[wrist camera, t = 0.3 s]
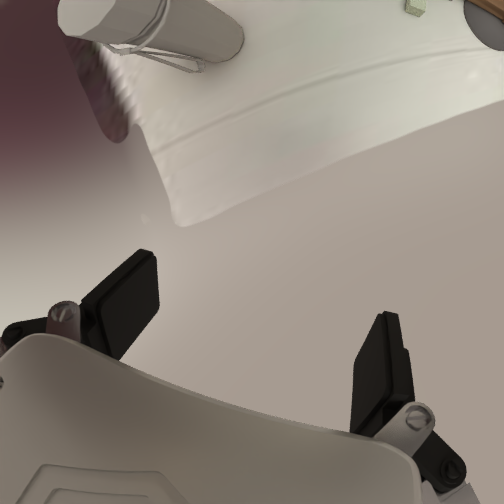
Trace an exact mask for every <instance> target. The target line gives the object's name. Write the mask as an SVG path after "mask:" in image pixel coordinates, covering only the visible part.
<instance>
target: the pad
mask: <svg viewBox="0 0 504 504" xmlns="http://www.w3.org/2000/svg"><path fill="white" fill-rule="evenodd" d="M464 14H465V18H466V21H467V23H468V25H469V27H470V28H471V30H472V31H473V33H474V34H475V35H476V37H477V38H478V39H479V40H480V41H482V42H483V43H484V44H485V45H487V46H488V47H490V48H492V49H495V50H498V51H504V23H503V22H502V19H500V18H498V17H497V16H495V15H494V14H492V13H490V12H488V11H487V10H485V9H483V8H481V7H479V6H478V5H476V4H474V3H472V2H470V1H468V0H466V1H465V3H464Z"/></svg>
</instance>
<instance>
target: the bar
mask: <svg viewBox="0 0 504 504" xmlns="http://www.w3.org/2000/svg"><path fill="white" fill-rule="evenodd" d="M468 1H470V2H472V3H474V4H476V5H478V6H479V7H481V8H483V9H485V10H487V11H488V12H490V13H492V14H494V15H495V16H497V17H498V18H500V19H502V22H503V23H504V0H468Z"/></svg>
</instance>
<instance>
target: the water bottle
mask: <svg viewBox="0 0 504 504" xmlns="http://www.w3.org/2000/svg"><path fill="white" fill-rule="evenodd" d="M58 25H59V27H60V28H61V29H62V30H63V32H64V33H65V34H66V35H67V36H72V37H78V38H82V39H87V40H92V41H96V42H100V43H102V44H103V45H104V46H105V47H107V48H108V49H109V50H111V51H112V52H113V53H119V54H120V56H121V55H127V54H137V55H140V56H143V57H146V58H149V59H152V60H155V61H158V62H161V63H164V64H167V65H170V66H173V67H175V68H178V69H181V70H183V71H186V72H188V73H201V72H204V70H205V64H204V63H203V61H202V60H200V59H203V60H206V61H210V62H214V63H217V62H222V61H226V60H229V59H230V58H231V57H233V56H234V55H235V54H236V53H237V52H239V50H240V48H241V45H242V43H243V40H244V37H243V32H242V27H241V26H240V25H239V24H238V23H237V22H236V21H235V20H234V19H232V18H231V17H229V16H228V15H227V14H225V13H224V12H222V11H221V10H219V9H218V8H217V7H215V6H214V5H212V4H211V3H209V2H208V1H206V0H60V3H59V6H58ZM109 44H117V45H119V44H131V45H137V47H135V48H125V49H116V48H114V47H112V46H110V45H109ZM144 47H149V48H154V49H159V50H164V51H169V52H174V53H178V54H182V55H187V56H191V57H186V56H180V55H173V54H166V53H158V52H149V51H140V50H141V49H142V48H144ZM145 53H146V54H145ZM148 54H154V55H162V56H169V57H176V58H182V59H188V60H193V61H196V62H197V65H198V69H199V70H198V71H193V70H190V69H187V68H185V67H182V66H180V65H177V64H174V63H171V62H169V61H166V60H163V59H160V58H157V57H154V56H151V55H148ZM192 57H195V58H192ZM197 58H199V59H197Z"/></svg>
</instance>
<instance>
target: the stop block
mask: <svg viewBox="0 0 504 504" xmlns="http://www.w3.org/2000/svg"><path fill="white" fill-rule="evenodd" d="M425 10H426V0H407V1H406V10H405V12H407V13H410V14H413V15H415V16H418V17H420V16H421V15H422V14H423V13H424V12H425Z"/></svg>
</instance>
